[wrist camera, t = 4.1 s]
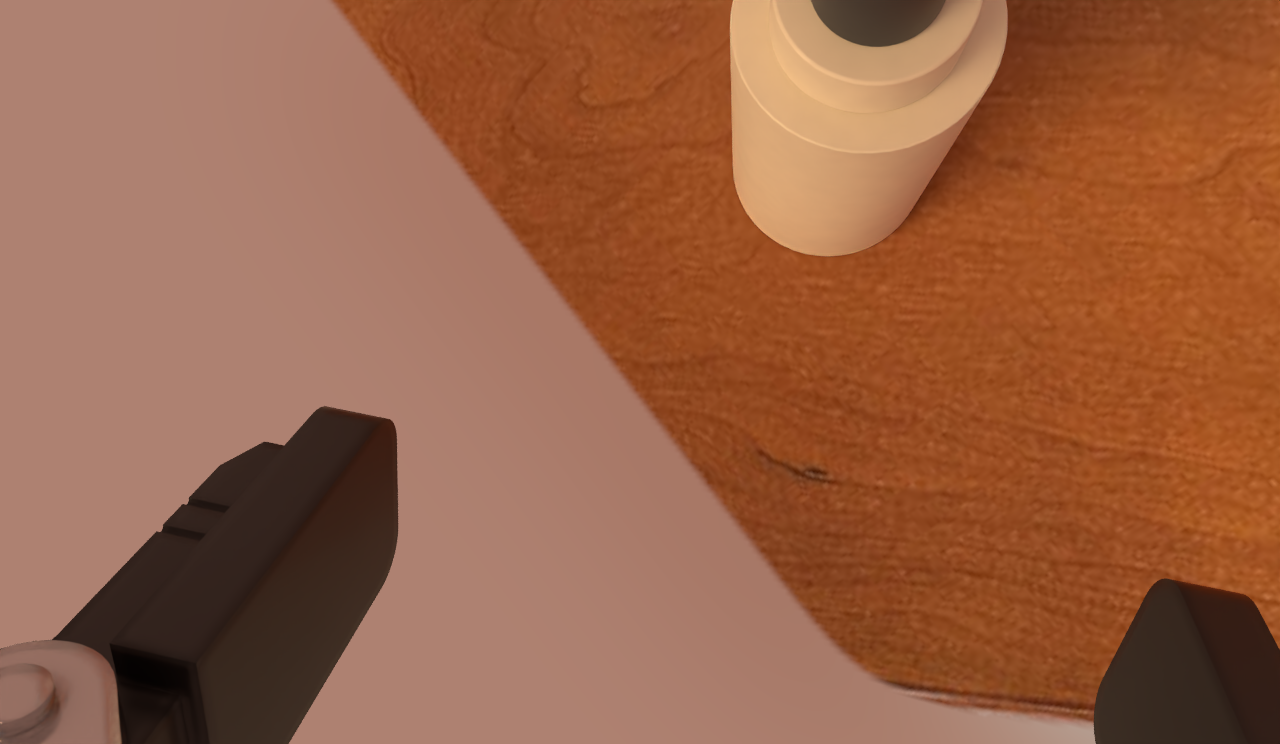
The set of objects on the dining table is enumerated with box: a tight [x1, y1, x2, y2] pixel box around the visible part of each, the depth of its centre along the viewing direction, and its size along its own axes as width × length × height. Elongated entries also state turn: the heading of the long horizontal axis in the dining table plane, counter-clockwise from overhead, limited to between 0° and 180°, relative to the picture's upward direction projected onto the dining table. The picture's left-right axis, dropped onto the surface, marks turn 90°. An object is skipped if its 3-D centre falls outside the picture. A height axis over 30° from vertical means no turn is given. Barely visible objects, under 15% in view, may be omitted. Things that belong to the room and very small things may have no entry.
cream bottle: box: [730, 0, 1008, 256], centre depth 23 cm, size 6×6×12 cm
